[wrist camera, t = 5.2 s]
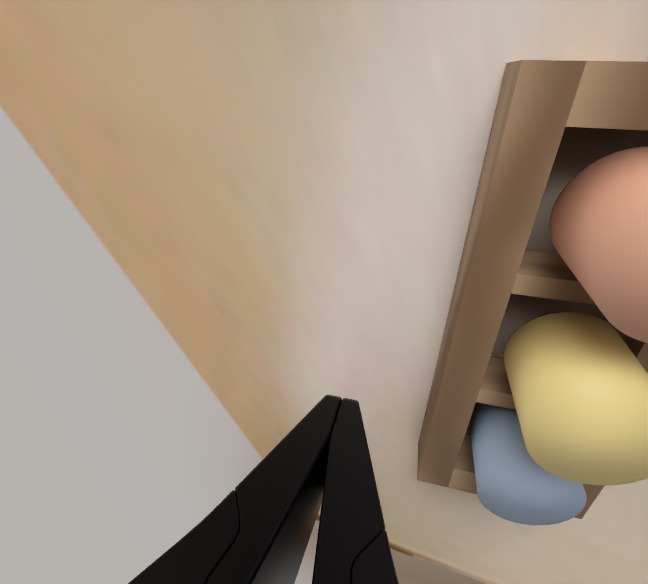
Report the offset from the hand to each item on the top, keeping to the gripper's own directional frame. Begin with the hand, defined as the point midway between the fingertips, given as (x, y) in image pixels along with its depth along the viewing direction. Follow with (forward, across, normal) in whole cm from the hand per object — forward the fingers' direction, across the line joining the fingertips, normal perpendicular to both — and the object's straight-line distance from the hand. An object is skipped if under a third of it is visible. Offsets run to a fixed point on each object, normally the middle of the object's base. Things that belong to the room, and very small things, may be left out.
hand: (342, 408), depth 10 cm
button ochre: (+10, -9, +4) cm, 14 cm away
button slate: (+12, -9, +11) cm, 18 cm away
